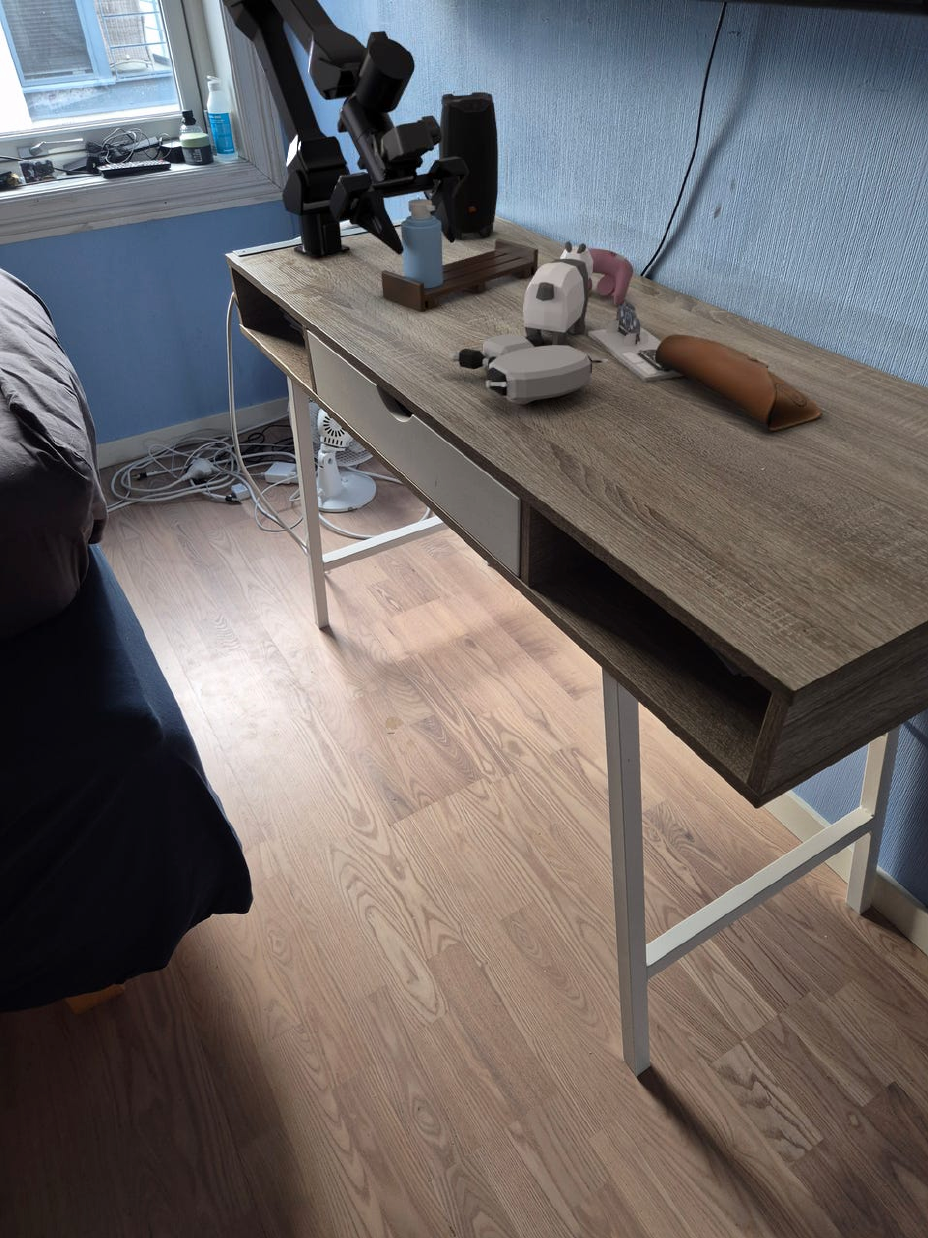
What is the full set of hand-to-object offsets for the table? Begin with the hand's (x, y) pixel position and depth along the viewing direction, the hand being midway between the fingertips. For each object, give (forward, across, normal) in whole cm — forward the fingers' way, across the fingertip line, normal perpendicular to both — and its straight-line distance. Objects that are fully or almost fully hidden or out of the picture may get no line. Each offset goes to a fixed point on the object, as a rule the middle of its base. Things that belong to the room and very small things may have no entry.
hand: (428, 246), depth 112 cm
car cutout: (+27, +8, -17) cm, 33 cm away
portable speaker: (-11, +24, +21) cm, 34 cm away
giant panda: (+19, +5, -9) cm, 22 cm away
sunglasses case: (+37, +8, -27) cm, 46 cm away
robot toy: (+26, -8, -16) cm, 32 cm away
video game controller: (+14, +18, -4) cm, 23 cm away
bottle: (+2, 0, +4) cm, 5 cm away
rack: (+3, +7, +6) cm, 10 cm away
